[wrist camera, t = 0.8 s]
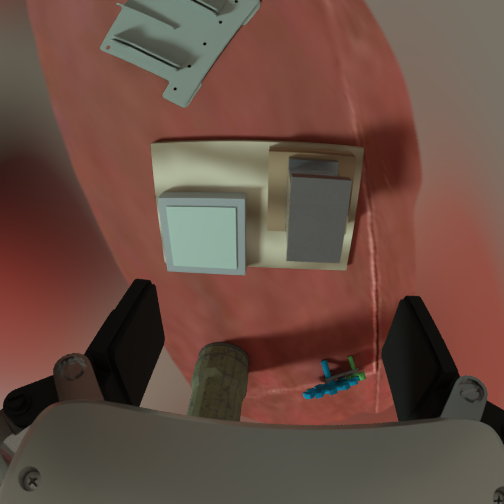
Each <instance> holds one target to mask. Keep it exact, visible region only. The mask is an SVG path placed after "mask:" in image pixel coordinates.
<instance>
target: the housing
mask: <svg viewBox="0 0 504 504" xmlns="http://www.w3.org/2000/svg"><path fill="white" fill-rule="evenodd" d="M338 167H339V162H338V161H337V160H330V159H317V158H300V157H289V161H288V183H287V202H286V220H285V232H286V238H287V252H286V261H294V262H318V263H340V259H341V253H342V247H343V241H344V235H345V228H346V222H347V215H348V208H349V200H350V193H351V185H352V180H351V179H350V177H341V176H340V174H339V173H338Z"/></svg>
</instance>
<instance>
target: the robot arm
mask: <svg viewBox="0 0 504 504" xmlns="http://www.w3.org/2000/svg"><path fill="white" fill-rule="evenodd" d="M164 341H165V336H164V330H163V325H162V320H161V314H160V309H159V303H158V297H157V291H156V286H155V285H154V284H152V283H151V281H150V280H144V279H135V280H134V281H133V283H132V284H131V286H130V287H129V289H128V290H127V292H126V293H125V295H124V296H123V298H122V299H121V301H120V302H119V304H118V305H117V307H116V308H115V310H113V311H112V312H111V313H110V314H109V316H108V317H107V319H106V321H105V322H104V324H103V325H102V327H101V328H100V330H99V331H98V333H97V335H96V336H95V338H94V339H93V341H92V342H91V344H90V346H89V347H88V349H87V351H86V352H85V354H84V355H83V354H79V353H72V354H67V355H65V356H63V357H61V358H60V359H59V360H58V361H57V362H56V363H55V365H54V368H53V375H52V376H49V377H47V378H44V379H42V380H39V381H37V382H34V383H31V384H28V385H26V386H23V387H20V388H18V389H15V390H13V391H12V392H10V393H9V394H8V395H7V397H6V398H5V400H4V403H3V409H1V410H0V504H504V410H502V409H501V408H499V407H497V406H495V405H494V404H492V403H490V402H489V401H487V395H488V394H487V389H486V387H485V385H484V384H483V383H482V382H481V381H480V380H479V379H477V378H475V377H472V376H462V377H460V376H459V373H458V370H457V368H456V365H455V363H454V361H453V359H452V357H451V355H450V352H449V350H448V349H447V346H446V344H445V342H444V340H443V338H442V337H441V334H440V333H439V330H438V329H437V327H436V325H435V323H434V321H433V319H432V317H431V315H430V313H429V312H428V310H427V308H426V306H425V304H424V302H423V301H422V299H421V297H419V296H405V298H404V299H402V300H400V302H399V305H398V308H397V311H396V314H395V316H394V319H393V322H392V325H391V328H390V330H389V333H388V336H387V338H386V341H385V344H384V346H383V349H382V360H383V364H384V367H385V371H386V374H387V378H388V382H389V385H390V389H391V393H392V397H393V400H394V404H395V408H396V412H397V416H398V420H399V422H386V423H373V424H353V425H284V424H265V423H263V424H262V423H250V422H239V421H228V420H219V419H211V418H203V417H195V416H189V415H182V414H175V413H170V412H164V411H158V410H152V409H147V408H142V407H139V406H140V403H141V401H142V398H143V395H144V393H145V390H146V388H147V385H148V382H149V380H150V378H151V375H152V373H153V370H154V368H155V365H156V363H157V360H158V358H159V355H160V353H161V350H162V348H163V345H164Z"/></svg>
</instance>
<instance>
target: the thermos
mask: <svg viewBox="0 0 504 504" xmlns="http://www.w3.org/2000/svg"><path fill="white" fill-rule="evenodd" d="M248 364H249V359H248V356H247V354H246V353H245V352H244V351H243V350H242V349H240V348H239V347H237V346H235V345H232V344H229V343H222V342H218V343H211V344H208V345H206V346H204V347H203V348H202V349H201V351H200V353H199V358H198V361H197V362H196V364H195V368H194V372H193V376H192V380H191V386H192V395H191V399H190V403H189V408H188V412H187V415H189V416H195V417H203V418H211V419H219V420H228V421H239V422H240V415H241V406H242V401H243V399H244V398H245V396H246V391H247V383H248V373H249V371H248Z"/></svg>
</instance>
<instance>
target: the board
mask: <svg viewBox="0 0 504 504" xmlns="http://www.w3.org/2000/svg"><path fill="white" fill-rule="evenodd" d="M269 146H270V147H293V148H311V149H325V150H337V151H348V152H352V153H353V154H354V155H355V156H356V164H355V172H354V181H353V189H352V196H351V204H350V211H349V218H348V225H347V231H346V234H345V235H344V241H343V247H342V253H341V259H340V263H318V262H294V261H286V252H287V238H286V232H285V231H267V210H268V173H269ZM151 153H152V164H153V174H154V184H155V193H156V201H157V210H158V218H159V225H160V232H161V239H162V246H163V253H164V259H165V262H166V257H165V251H164V244H163V237H162V229H161V222H160V214H159V206H158V197H159V196H160V195H161V194H162V193H163V192H237V193H246V265H247V266H249V267H272V268H296V269H323V270H346V268H347V262H348V257H349V251H350V246H351V240H352V234H353V228H354V222H355V216H356V209H357V202H358V195H359V188H360V180H361V172H362V164H363V155H364V148H363V147H358V146H348V145H337V144H325V143H312V142H295V141H272V140H185V141H163V142H153V143H151Z"/></svg>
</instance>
